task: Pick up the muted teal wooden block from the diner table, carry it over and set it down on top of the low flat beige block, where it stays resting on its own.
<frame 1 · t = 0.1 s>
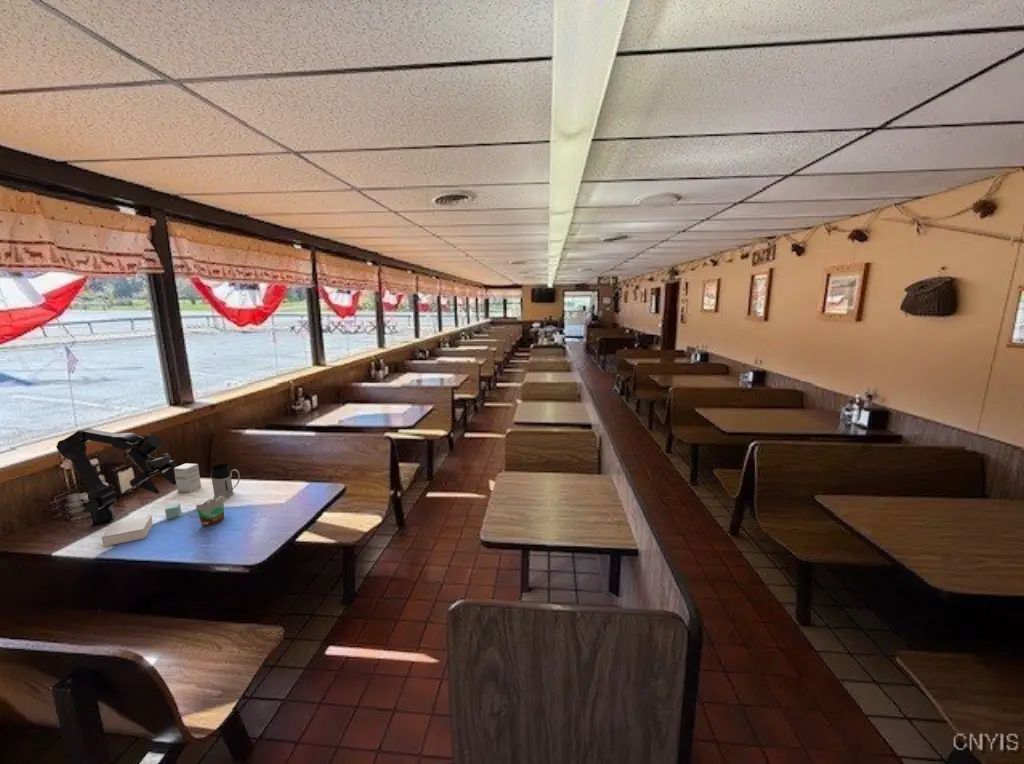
hand: (166, 488, 195), 15 cm above the table, tool tilted 35°, fingers open, 9 cm apart
grey black mug: (229, 496, 223), on the table
food container: (217, 521, 197), on the table
flat beige block: (129, 534, 187), on the table
supplement box: (189, 489, 232), on the table
teal block: (174, 515, 203), on the table
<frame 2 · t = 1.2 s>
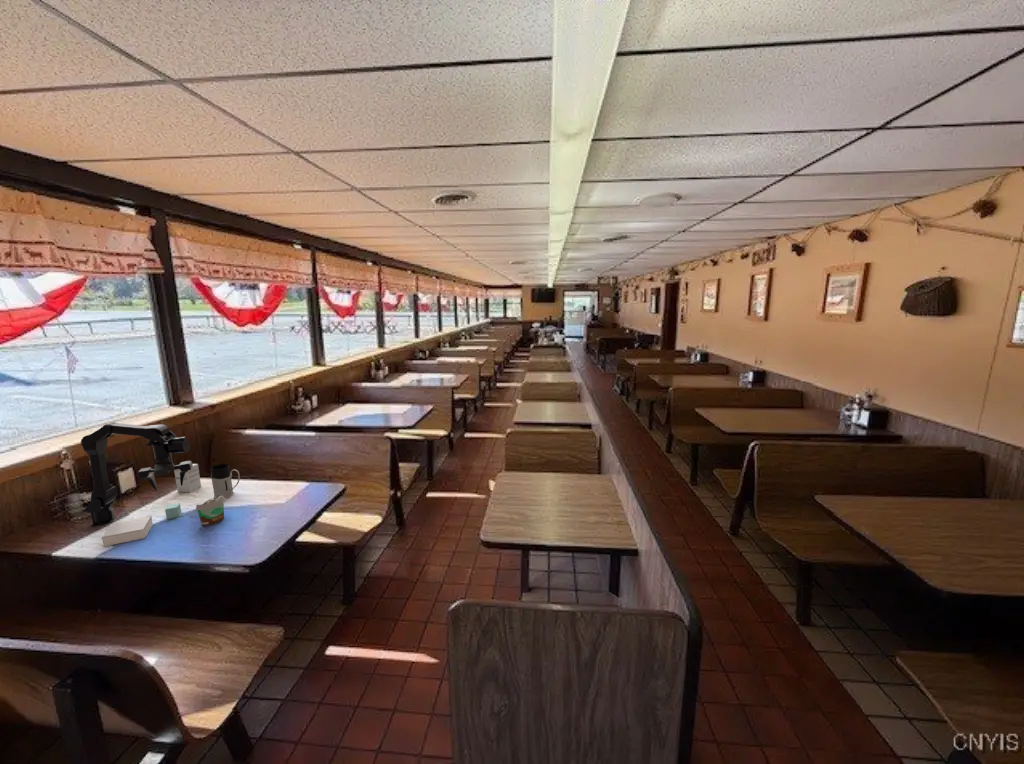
hand: (169, 487, 201), 13 cm above the table, tool pointing down, fingers open, 9 cm apart
nothing on the table moved.
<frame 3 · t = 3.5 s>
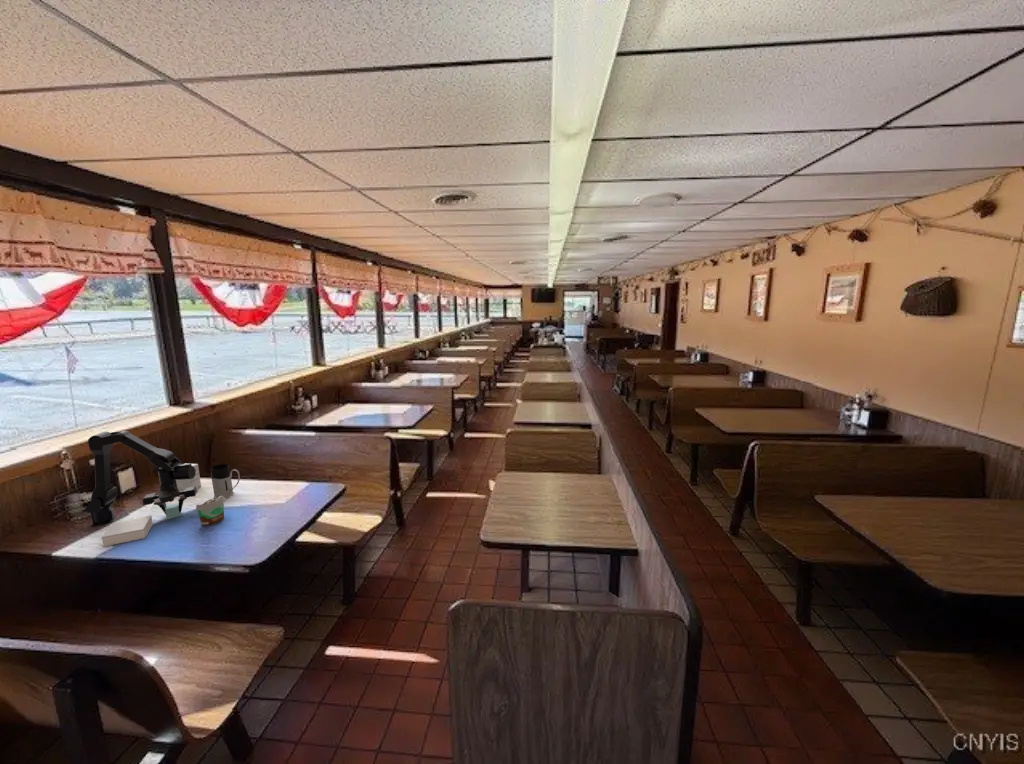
hand: (173, 513, 203), 1 cm above the table, tool pointing down, fingers closed on teal block, 5 cm apart
teal block: (174, 515, 203), on the table, touching gripper
everything else where it was.
when the fingers open (6 cm above the table, at t = 8.0 s): teal block drops 1 cm, resting on flat beige block.
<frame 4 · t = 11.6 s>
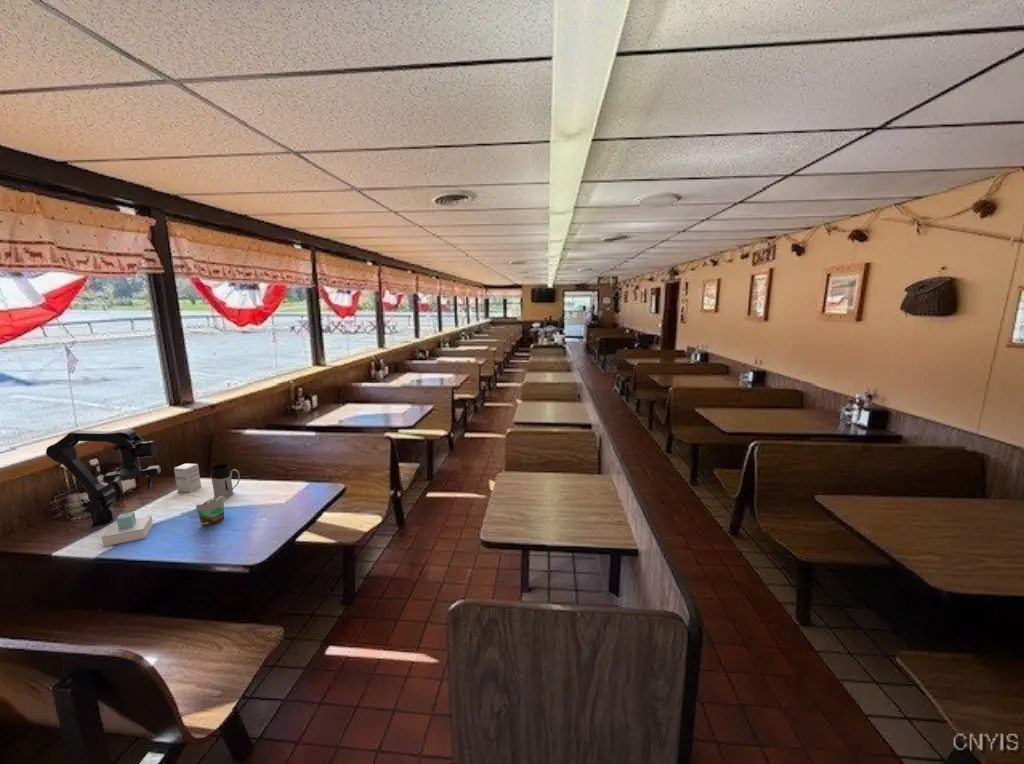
hand: (136, 492, 200), 12 cm above the table, tool pointing down, fingers open, 9 cm apart
teal block: (127, 525, 186), point 4 cm above the table, touching flat beige block
everything else where it was.
at the end: teal block inside the target area on the flat beige block (0.0 cm from its centre), point 4.0 cm above the flat beige block's base; teal block tilted 0°; the gripper is holding nothing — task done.
